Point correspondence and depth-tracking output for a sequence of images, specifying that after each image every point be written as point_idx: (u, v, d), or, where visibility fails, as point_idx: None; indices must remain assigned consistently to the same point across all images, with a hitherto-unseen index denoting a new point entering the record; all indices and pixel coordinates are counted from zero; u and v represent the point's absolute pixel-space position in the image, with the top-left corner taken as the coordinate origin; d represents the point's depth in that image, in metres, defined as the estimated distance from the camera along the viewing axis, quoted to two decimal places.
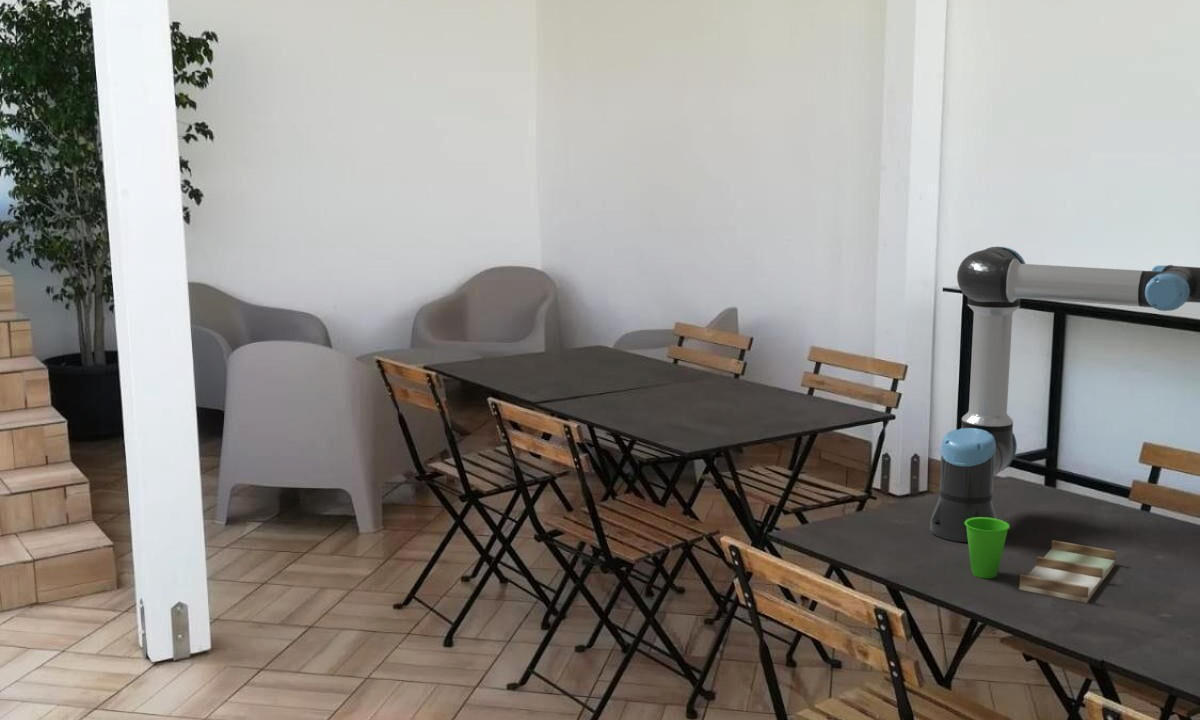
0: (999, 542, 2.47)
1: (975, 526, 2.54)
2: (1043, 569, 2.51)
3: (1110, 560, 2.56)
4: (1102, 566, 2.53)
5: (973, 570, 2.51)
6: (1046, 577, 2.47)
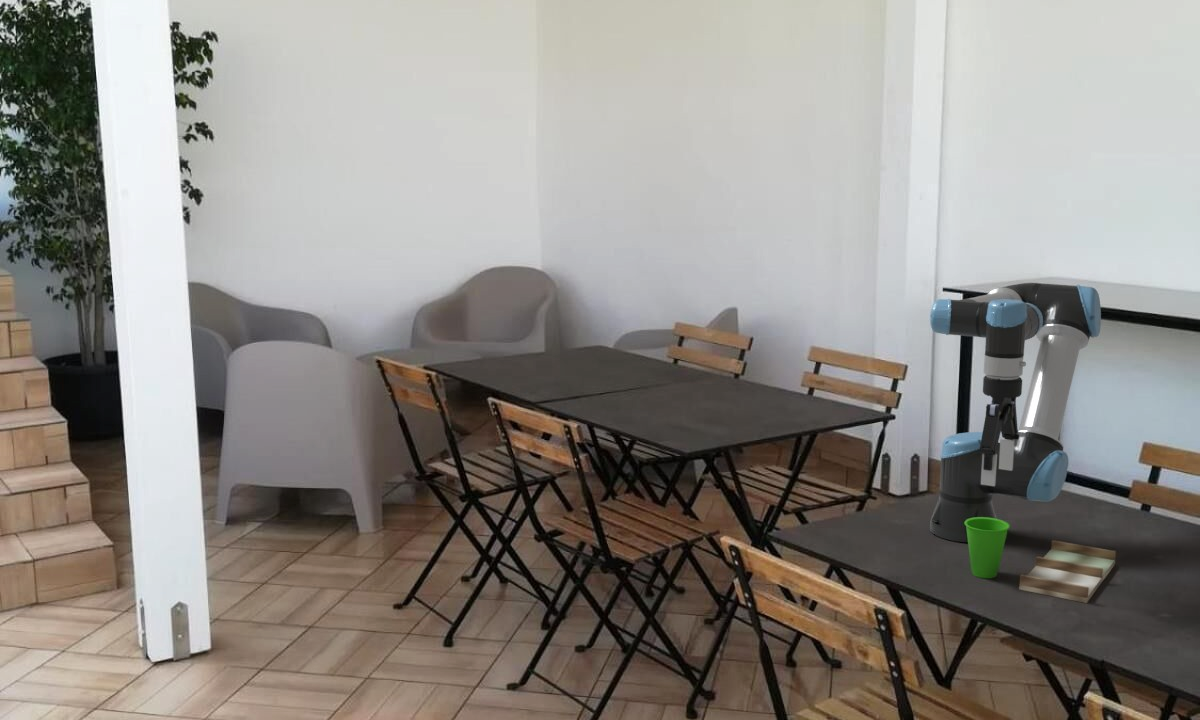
0: (999, 542, 2.47)
1: (975, 526, 2.54)
2: (1043, 569, 2.51)
3: (1110, 560, 2.56)
4: (1102, 566, 2.53)
5: (973, 570, 2.51)
6: (1046, 577, 2.47)
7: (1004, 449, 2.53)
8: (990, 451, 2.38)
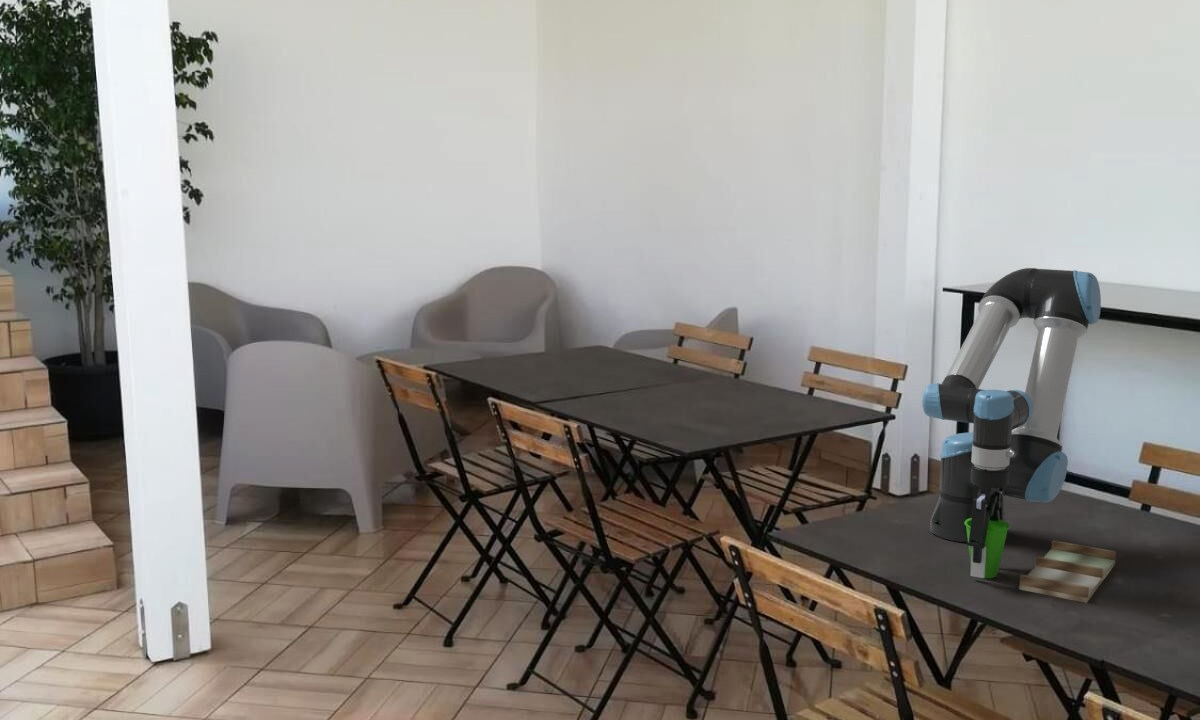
0: (999, 542, 2.47)
1: None
2: (1043, 569, 2.51)
3: (1110, 560, 2.56)
4: (1102, 566, 2.53)
5: None
6: (1046, 577, 2.47)
7: None
8: (979, 546, 2.44)
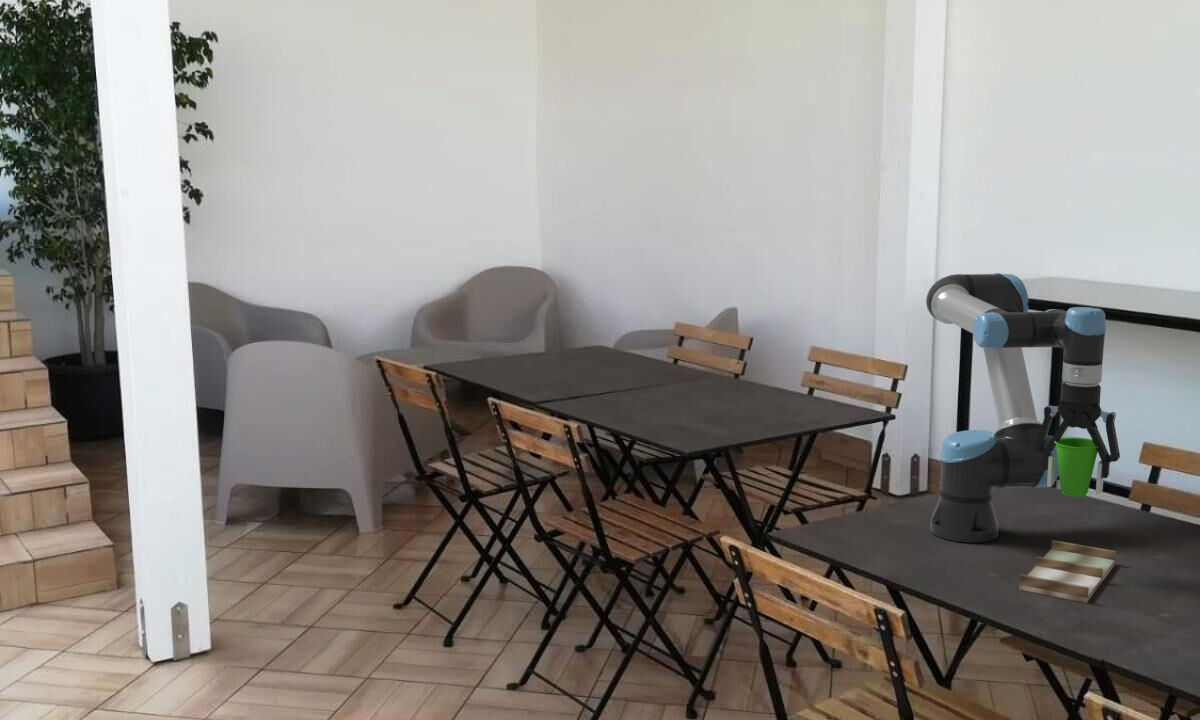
0: (1063, 458, 2.49)
1: None
2: (1043, 569, 2.51)
3: (1110, 560, 2.56)
4: (1102, 566, 2.53)
5: None
6: (1046, 577, 2.47)
7: None
8: None
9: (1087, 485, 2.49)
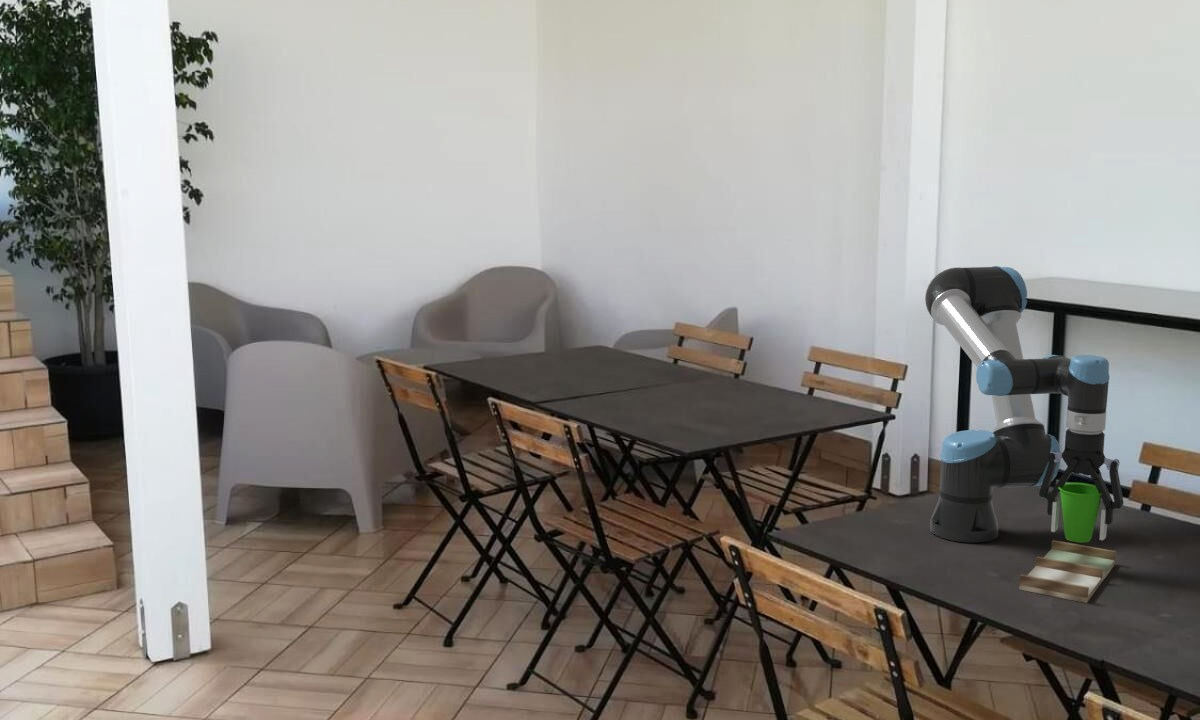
0: (1067, 504, 2.51)
1: None
2: (1043, 569, 2.51)
3: (1110, 560, 2.56)
4: (1102, 566, 2.53)
5: None
6: (1046, 577, 2.47)
7: None
8: None
9: (1091, 531, 2.51)
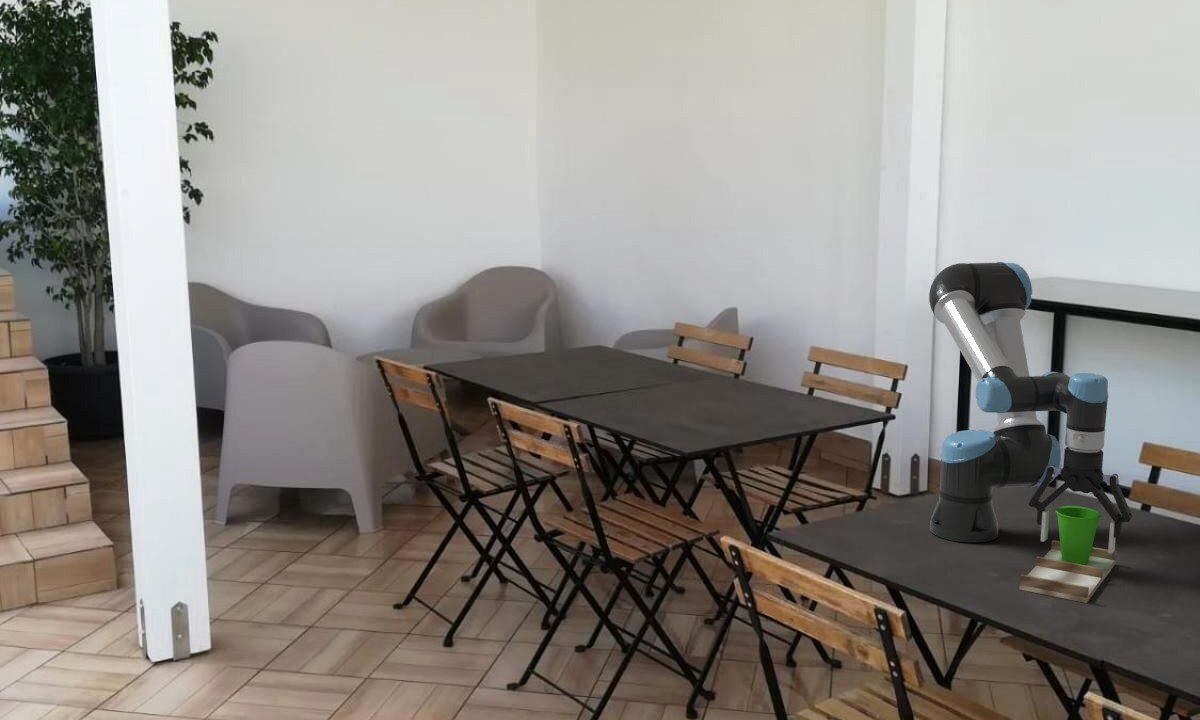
0: (1064, 527, 2.52)
1: (1091, 518, 2.55)
2: (1043, 569, 2.51)
3: (1110, 560, 2.56)
4: (1102, 566, 2.53)
5: None
6: (1046, 577, 2.47)
7: None
8: None
9: (1088, 554, 2.53)
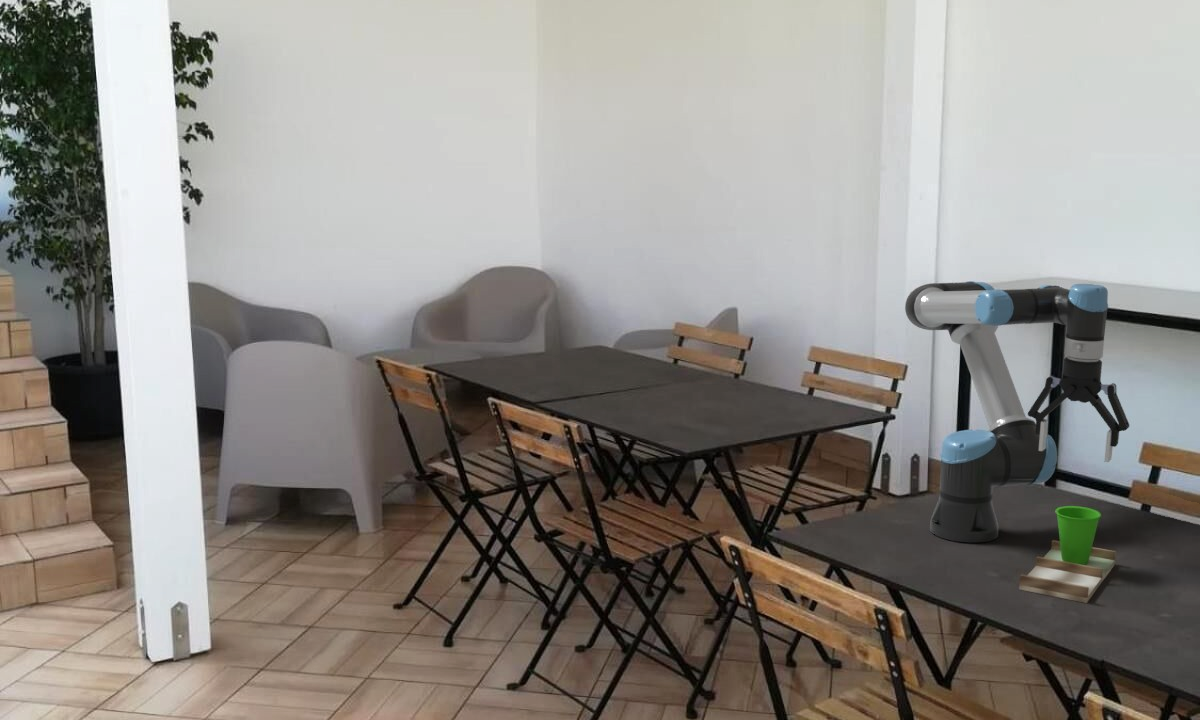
0: (1064, 528, 2.52)
1: (1091, 518, 2.55)
2: (1043, 569, 2.51)
3: (1110, 560, 2.56)
4: (1102, 566, 2.53)
5: None
6: (1046, 577, 2.47)
7: None
8: None
9: (1088, 555, 2.53)
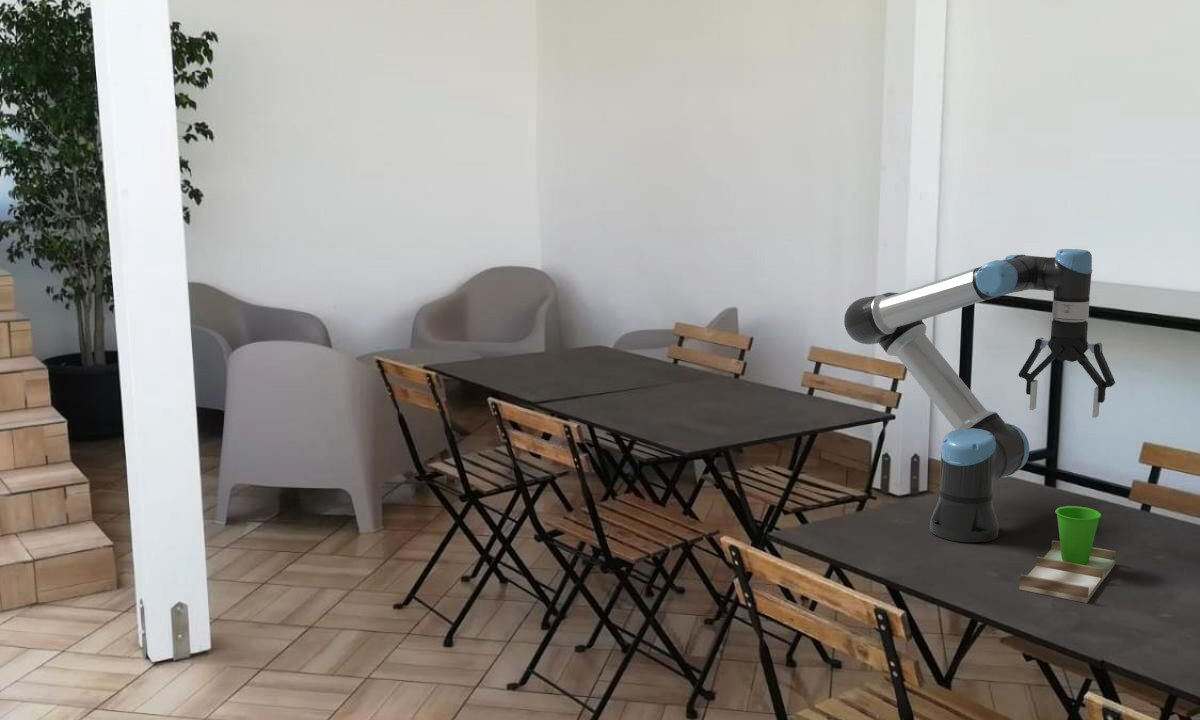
0: (1064, 528, 2.52)
1: (1091, 518, 2.55)
2: (1043, 569, 2.51)
3: (1110, 560, 2.56)
4: (1102, 566, 2.53)
5: None
6: (1046, 577, 2.47)
7: None
8: None
9: (1088, 555, 2.53)
